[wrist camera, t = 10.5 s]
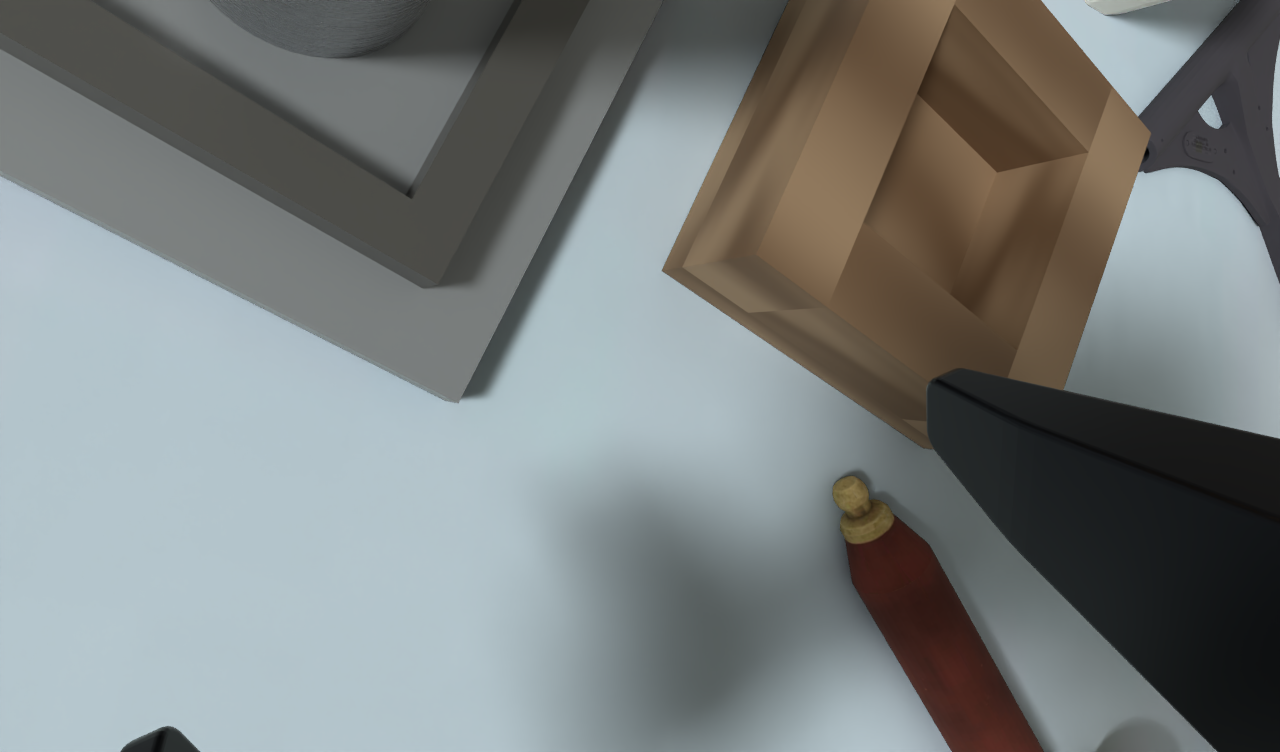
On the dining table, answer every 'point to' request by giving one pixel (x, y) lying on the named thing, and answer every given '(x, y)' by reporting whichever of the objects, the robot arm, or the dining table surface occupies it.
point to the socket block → (915, 197)
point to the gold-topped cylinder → (325, 23)
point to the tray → (322, 155)
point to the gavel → (928, 628)
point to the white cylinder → (1121, 5)
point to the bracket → (1226, 114)
